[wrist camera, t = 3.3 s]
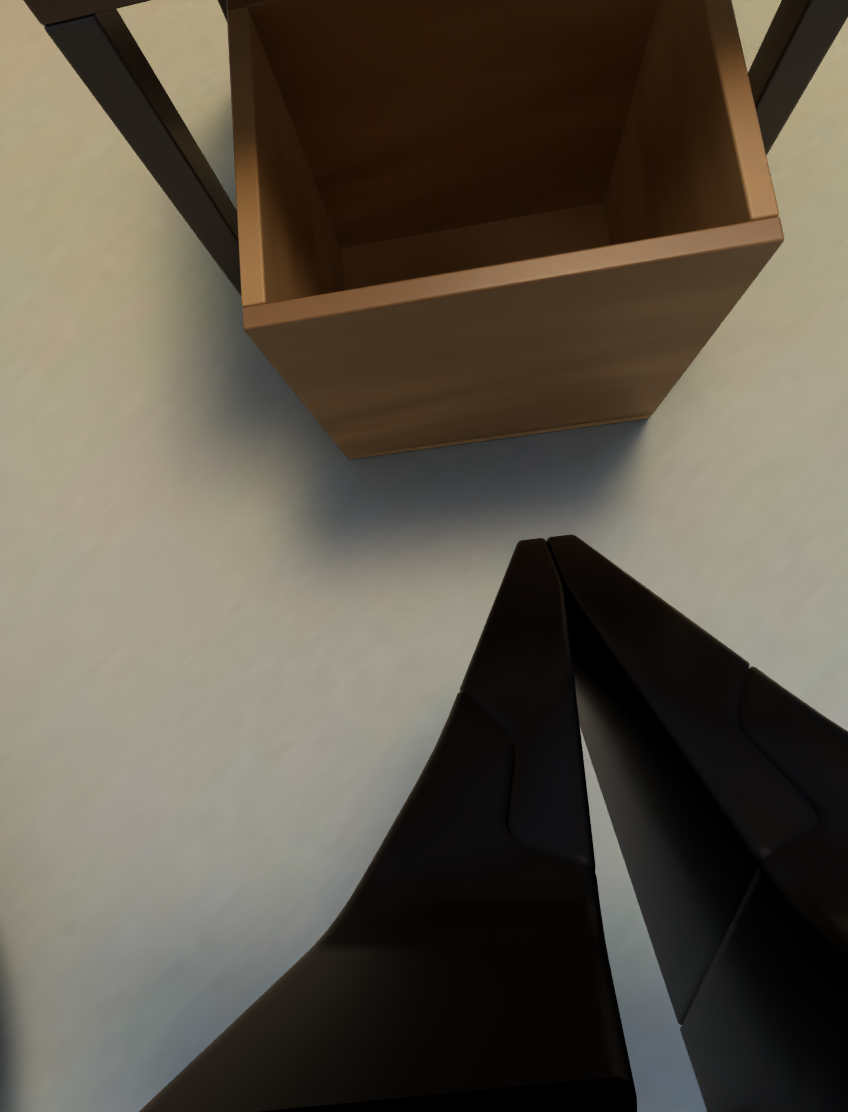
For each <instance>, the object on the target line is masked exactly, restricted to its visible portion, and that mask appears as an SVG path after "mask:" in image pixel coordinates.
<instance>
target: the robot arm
mask: <svg viewBox="0 0 848 1112" xmlns="http://www.w3.org/2000/svg"><path fill="white" fill-rule="evenodd" d="M580 728H581V731H582V734H583V737H584V740H585V743H586V746H587V749H588V752H589V755H590V758H591V761H592V764H593V767H594V770H595V773H596V776H597V779H598V782H599V785H600V788H601V791H602V794H603V797H604V800H605V803H606V807H607V810H608V813H609V816H610V819H611V822H612V825H613V828H614V831H615V834H616V837H617V840H618V843H619V846H620V849H621V852H622V855H623V858H624V861H625V864H626V867H627V870H628V873H629V876H630V879H631V882H632V885H633V888H634V891H635V894H636V897H637V900H638V903H639V906H640V909H641V912H642V915H643V918H644V921H645V924H646V927H647V930H648V933H649V936H650V939H651V942H652V945H653V948H654V952H655V955H656V958H657V961H658V964H659V967H660V970H661V973H662V976H663V979H664V982H665V985H666V988H667V991H668V994H669V997H670V1000H671V1003H672V1006H673V1009H674V1012H675V1015H676V1018H677V1021H678V1023H679V1024H680V1025H681V1028H680V1031H681V1034H682V1037H683V1040H684V1043H685V1046H686V1049H687V1052H688V1055H689V1058H690V1061H691V1064H692V1067H693V1070H694V1073H695V1076H696V1079H697V1082H698V1085H699V1088H700V1091H701V1094H702V1097H703V1100H704V1103H705V1106H706V1109H707V1112H848V731H846V730H845V729H843V728H842V727H840V726H839V725H837V724H835V723H834V722H832V721H831V720H829V719H828V718H826V717H825V716H823V715H822V714H820V713H819V712H817V711H816V710H815V709H813V708H812V707H810V706H809V705H807V704H806V703H805V702H803V701H802V700H800V699H799V698H797V697H796V696H795V695H793V694H792V693H790V692H789V691H787V690H786V689H784V688H783V687H782V686H780V685H779V684H778V683H776V682H775V681H773V680H772V679H771V678H769V677H768V676H767V675H765V674H764V673H763V672H761V671H760V670H758V669H757V668H756V667H750V668H749V663H748V662H747V661H746V660H744V659H743V658H742V657H740V656H739V655H738V654H736V653H735V652H733V651H732V650H731V649H729V648H728V647H727V646H725V645H724V644H723V643H721V642H720V641H718V640H717V639H716V638H714V637H713V636H712V635H710V634H709V633H708V632H706V631H705V630H703V629H702V628H701V627H699V626H698V625H697V624H695V623H694V622H693V621H691V620H690V619H688V618H687V617H686V616H684V615H683V614H682V613H680V612H679V611H678V610H676V609H675V608H673V607H672V606H671V605H669V604H668V603H667V602H665V601H664V600H663V599H661V598H660V597H658V596H657V595H656V594H654V593H653V592H652V591H650V590H649V589H648V588H646V587H645V586H643V585H642V584H641V583H639V582H638V581H637V580H635V579H634V578H633V577H631V576H630V575H629V574H627V573H626V572H624V571H623V570H622V569H620V568H619V567H618V566H616V565H615V564H614V563H612V562H611V561H609V560H608V559H607V558H605V557H604V556H603V555H601V554H600V553H599V552H597V551H596V550H594V549H593V548H592V547H590V546H589V545H588V544H586V543H585V542H584V541H582V540H581V539H579V538H578V537H577V536H575V535H564V536H555V537H549V538H548V539H547V541H546V540H545V539H543V538H538V539H529V540H521V541H519V542H518V543H517V545H516V548H515V550H514V553H513V555H512V558H511V560H510V563H509V565H508V568H507V571H506V573H505V576H504V578H503V581H502V583H501V586H500V588H499V591H498V593H497V596H496V598H495V601H494V604H493V606H492V609H491V611H490V614H489V616H488V619H487V621H486V624H485V626H484V629H483V631H482V634H481V637H480V639H479V642H478V644H477V647H476V649H475V652H474V654H473V657H472V659H471V662H470V665H469V667H468V670H467V672H466V675H465V677H464V680H463V682H462V685H461V687H460V693H458V694H457V697H456V699H455V702H454V704H453V707H452V709H451V712H450V714H449V717H448V719H447V721H446V724H445V726H444V728H443V730H442V733H441V735H440V737H439V739H438V742H437V744H436V746H435V748H434V750H433V752H432V754H431V756H430V758H429V760H428V762H427V764H426V766H425V767H424V769H423V771H422V773H421V775H420V777H419V779H418V781H417V783H416V785H415V786H414V788H413V790H412V792H411V793H410V795H409V797H408V799H407V800H406V802H405V804H404V806H403V807H402V809H401V811H400V813H399V814H398V816H397V818H396V820H395V821H394V823H393V825H392V827H391V828H390V830H389V832H388V834H387V835H386V837H385V839H384V841H383V842H382V844H381V846H380V848H379V849H378V851H377V853H376V855H375V856H374V858H373V860H372V862H371V863H370V865H369V867H368V869H367V870H366V872H365V874H364V876H363V877H362V879H361V881H360V882H359V884H358V886H357V887H356V889H355V891H354V892H353V894H352V896H351V897H350V899H349V901H348V902H347V903H346V905H345V906H344V908H343V909H342V911H341V912H340V914H339V915H338V917H337V918H336V919H335V921H334V922H333V923H332V925H331V926H330V927H329V929H328V930H327V931H326V932H325V934H324V935H323V936H322V937H321V938H320V939H319V940H318V941H317V943H316V944H315V945H314V946H313V947H312V948H311V949H310V950H309V951H308V952H307V953H306V954H305V955H304V956H303V957H302V958H301V959H300V960H299V961H298V962H297V963H296V964H295V965H293V966H292V967H291V968H290V969H289V970H288V971H287V972H286V973H285V974H284V975H283V976H282V977H281V978H280V979H279V980H278V981H277V982H275V983H274V984H273V985H272V986H271V987H270V988H269V989H268V990H267V991H266V992H265V993H264V994H263V995H262V996H261V997H260V998H259V999H258V1000H256V1001H255V1002H254V1003H253V1004H252V1005H251V1006H250V1007H249V1008H248V1009H247V1010H246V1011H245V1012H244V1013H243V1014H242V1015H241V1016H240V1017H239V1018H237V1019H236V1020H235V1021H234V1022H233V1023H232V1024H231V1025H230V1026H229V1027H228V1028H227V1029H226V1030H225V1031H224V1032H223V1033H222V1034H221V1035H219V1036H218V1037H217V1038H216V1039H215V1040H214V1041H213V1042H212V1043H211V1044H210V1045H209V1046H208V1047H207V1048H206V1049H205V1050H204V1051H203V1052H202V1053H200V1054H199V1055H198V1056H197V1057H196V1058H195V1059H194V1060H193V1061H192V1062H191V1063H190V1064H189V1065H188V1066H187V1067H186V1068H185V1069H184V1070H183V1071H181V1072H180V1073H179V1074H178V1075H177V1076H176V1077H175V1078H174V1079H173V1080H172V1081H171V1082H170V1083H169V1084H168V1085H167V1086H166V1087H165V1088H163V1089H162V1090H161V1091H160V1092H159V1093H158V1094H157V1095H156V1096H155V1097H154V1098H153V1099H152V1100H151V1101H150V1102H149V1103H148V1104H147V1105H146V1106H144V1107H143V1108H142V1109H141V1110H140V1111H139V1112H637V1096H636V1092H635V1087H634V1082H633V1077H632V1072H631V1067H630V1062H629V1057H628V1052H627V1047H626V1042H625V1038H624V1033H623V1028H622V1023H621V1018H620V1013H619V1008H618V1003H617V998H616V993H615V988H614V984H613V979H612V974H611V969H610V964H609V959H608V954H607V948H606V943H605V937H604V930H603V923H602V916H601V910H600V902H599V894H598V886H597V877H596V874H595V859H594V850H593V841H592V832H591V823H590V814H589V805H588V796H587V787H586V778H585V769H584V760H583V751H582V743H581V734H580Z"/></svg>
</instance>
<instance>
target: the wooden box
mask: <svg viewBox="0 0 848 1112" xmlns="http://www.w3.org/2000/svg"><path fill="white" fill-rule="evenodd" d="M226 4H227V24H228V43H229V63H230V82H231V102H232V121H233V140H234V160H235V179H236V199H237V218H238V237H239V257H240V276H241V296H242V307H243V329H244V331H245V332H246V333H247V335H248V336H249V337H250V338H251V339H252V341H253V342H254V343H255V344H256V346H257V347H258V348H259V349H260V351H261V352H262V353H263V354H264V356H265V357H266V358H267V359H268V360H269V362H270V363H271V364H272V365H273V367H274V368H275V369H276V370H277V372H278V373H279V374H280V375H281V377H282V378H283V379H284V380H285V381H286V383H287V384H288V385H289V386H290V388H291V389H292V390H293V391H294V393H295V394H296V395H297V396H298V397H299V399H300V400H301V401H302V402H303V404H304V405H305V406H306V407H307V409H308V410H309V411H310V412H311V414H312V415H313V416H314V417H315V418H316V420H317V421H318V422H319V423H320V425H321V426H322V427H323V428H324V430H325V431H326V432H327V433H328V435H329V436H330V437H331V438H332V439H333V441H334V442H335V443H336V444H337V446H338V447H339V448H340V449H341V451H342V452H343V453H344V454H345V455H346V456H347V458H348V459H355V458H362V457H370V456H377V455H384V454H392V453H399V452H406V451H413V450H421V449H428V448H435V447H443V446H450V445H457V444H465V443H472V442H479V441H486V440H494V439H501V438H508V437H516V436H523V435H530V434H538V433H545V432H552V431H559V430H567V429H574V428H581V427H589V426H596V425H603V424H611V423H618V422H625V421H633V420H640V419H647V418H650V416H651V415H652V414H653V413H654V411H655V410H656V409H657V408H658V406H659V405H660V404H661V402H662V401H663V400H664V398H665V397H666V396H667V394H668V393H669V392H670V390H671V389H672V388H673V386H674V385H675V384H676V382H677V381H678V380H679V379H680V377H681V376H682V375H683V373H684V372H685V371H686V369H687V368H688V367H689V365H690V364H691V363H692V361H693V360H694V359H695V357H696V356H697V355H698V353H699V352H700V351H701V350H702V348H703V347H704V346H705V344H706V343H707V342H708V340H709V339H710V338H711V336H712V335H713V334H714V332H715V331H716V330H717V328H718V327H719V326H720V324H721V323H722V322H723V320H724V319H725V318H726V317H727V315H728V314H729V313H730V311H731V310H732V309H733V307H734V306H735V305H736V303H737V302H738V301H739V299H740V298H741V297H742V295H743V294H744V293H745V291H746V290H747V289H748V288H749V286H750V285H751V284H752V282H753V281H754V280H755V278H756V277H757V276H758V274H759V273H760V272H761V270H762V269H763V268H764V266H765V265H766V264H767V262H768V261H769V260H770V259H771V257H772V256H773V255H774V253H775V252H776V251H777V249H778V248H779V247H780V245H781V244H782V243H783V241H784V234H783V230H782V225H781V221H780V218H779V217H778V215H779V211H778V206H777V202H776V197H775V193H774V188H773V184H772V180H771V175H770V171H769V166H768V162H767V157H766V153H765V148H764V144H763V139H762V135H761V131H760V126H759V122H758V117H757V113H756V108H755V104H754V99H753V95H752V91H751V86H750V82H749V77H748V73H747V68H746V64H745V59H744V55H743V50H742V46H741V42H740V37H739V33H738V28H737V24H736V19H735V15H734V10H733V6H732V2H731V0H226Z"/></svg>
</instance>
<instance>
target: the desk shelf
mask: <svg viewBox="0 0 848 1112" xmlns="http://www.w3.org/2000/svg"><path fill="white" fill-rule="evenodd" d="M146 1H150V0H24V2H25V3H26V5H27V6H28V7H29V9H30V10H31V11H32V13H33V14H34V15H35V17H36V18H37V19H38V21H39V22H40V23H41V24H42V25H44V27H45V30H46V32H47V33H48V35H49V36H50V37H51V39H52V40H53V41H54V43H55V44H56V45H57V47H58V48H59V49H60V51H61V52H62V54H63V55H64V56H65V58H66V59H67V60H68V62H69V63H70V64H71V66H72V67H73V68H74V70H75V71H76V73H77V74H78V75H79V77H80V78H81V79H82V81H83V82H84V83H85V85H86V86H87V87H88V89H89V90H90V92H91V93H92V94H93V96H94V97H95V98H96V100H97V101H98V102H99V104H100V105H101V106H102V108H103V109H104V111H105V112H106V113H107V115H108V116H109V117H110V119H111V120H112V121H113V123H114V124H115V126H116V127H117V128H118V130H119V131H120V132H121V134H122V135H123V136H124V138H125V139H126V140H127V142H128V143H129V145H130V146H131V147H132V149H133V150H134V151H135V153H136V154H137V155H138V157H139V158H140V159H141V161H142V162H143V164H144V165H145V166H146V168H147V169H148V170H149V172H150V173H151V174H152V176H153V177H154V178H155V180H156V181H157V183H158V184H159V185H160V187H161V188H162V189H163V191H164V192H165V193H166V195H167V196H168V197H169V199H170V200H171V202H172V203H173V204H174V206H175V207H176V208H177V210H178V211H179V212H180V214H181V215H182V216H183V218H184V219H185V221H186V222H187V223H188V225H189V226H190V227H191V229H192V230H193V231H194V233H195V234H196V236H197V237H198V238H199V240H200V241H201V242H202V244H203V245H204V246H205V248H206V249H207V250H208V252H209V253H210V255H211V256H212V257H213V259H214V260H215V261H216V263H217V264H218V265H219V267H220V268H221V269H222V271H223V272H224V274H225V275H226V276H227V278H228V279H229V280H230V282H231V283H232V284H233V286H234V287H235V288H236V290H237V291H238V293H239V294H240V295H241V276H240V257H239V237H238V218H237V210H236V209H235V207H234V205H233V204H232V202H231V200H230V199H229V197H228V195H227V194H226V192H225V190H224V189H223V187H222V185H221V183H220V182H219V180H218V178H217V177H216V175H215V173H214V172H213V170H212V168H211V167H210V165H209V163H208V162H207V160H206V158H205V157H204V155H203V153H202V152H201V150H200V148H199V147H198V145H197V143H196V142H195V140H194V138H193V137H192V135H191V133H190V132H189V130H188V128H187V127H186V125H185V123H184V122H183V120H182V118H181V117H180V115H179V113H178V111H177V110H176V108H175V106H174V105H173V103H172V101H171V100H170V98H169V96H168V95H167V93H166V91H165V90H164V88H163V86H162V85H161V83H160V81H159V80H158V78H157V76H156V75H155V73H154V71H153V70H152V68H151V66H150V65H149V63H148V61H147V60H146V58H145V56H144V55H143V53H142V51H141V50H140V48H139V46H138V45H137V43H136V41H135V39H134V38H133V36H132V34H131V33H130V31H129V29H128V28H127V26H126V24H125V23H124V21H123V19H122V18H121V16H120V14H119V13H118V11H117V9H116V8H120V7H125V6H129V5H133V4H137V3H142V2H146ZM218 2H219V4H220V7H221V9H222V11H223V14H224V16H225V18H226V21H227V4H226V0H218ZM847 17H848V0H782V1H781V3H780V5H779V7H778V10H777V12H776V14H775V16H774V18H773V20H772V22H771V25H770V27H769V29H768V31H767V33H766V35H765V37H764V40H763V42H762V44H761V46H760V48H759V50H758V53H757V55H756V57H755V59H754V61H753V63H752V65H751V68H750V70H749V72H748V77H749V82H750V86H751V91H752V95H753V99H754V104H755V108H756V113H757V117H758V122H759V126H760V131H761V135H762V139H763V144H764V148H765V153H766V155H767V154H768V152H769V150H770V149H771V147H772V145H773V144H774V142H775V140H776V138H777V137H778V135H779V133H780V132H781V130H782V128H783V126H784V125H785V123H786V121H787V120H788V118H789V116H790V114H791V113H792V111H793V109H794V108H795V106H796V104H797V103H798V101H799V99H800V97H801V96H802V94H803V92H804V91H805V89H806V87H807V85H808V84H809V82H810V80H811V79H812V77H813V75H814V73H815V72H816V70H817V68H818V67H819V65H820V63H821V62H822V60H823V58H824V56H825V55H826V53H827V51H828V50H829V48H830V46H831V44H832V43H833V41H834V39H835V38H836V36H837V34H838V33H839V31H840V29H841V27H842V26H843V24H844V22H845V21H846V19H847ZM241 297H242V296H241Z"/></svg>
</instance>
